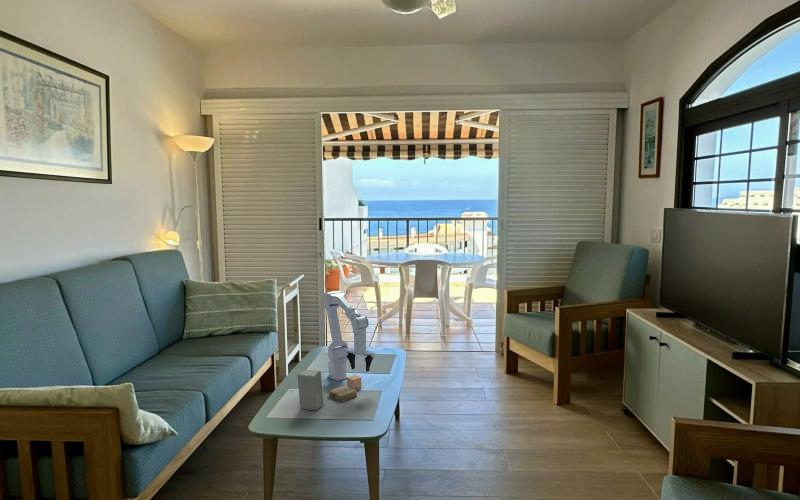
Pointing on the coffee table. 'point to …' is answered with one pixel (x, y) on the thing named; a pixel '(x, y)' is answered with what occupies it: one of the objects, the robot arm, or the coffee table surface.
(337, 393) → the tan flat block
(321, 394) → the skincare box
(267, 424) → the coffee table surface
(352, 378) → the cube
